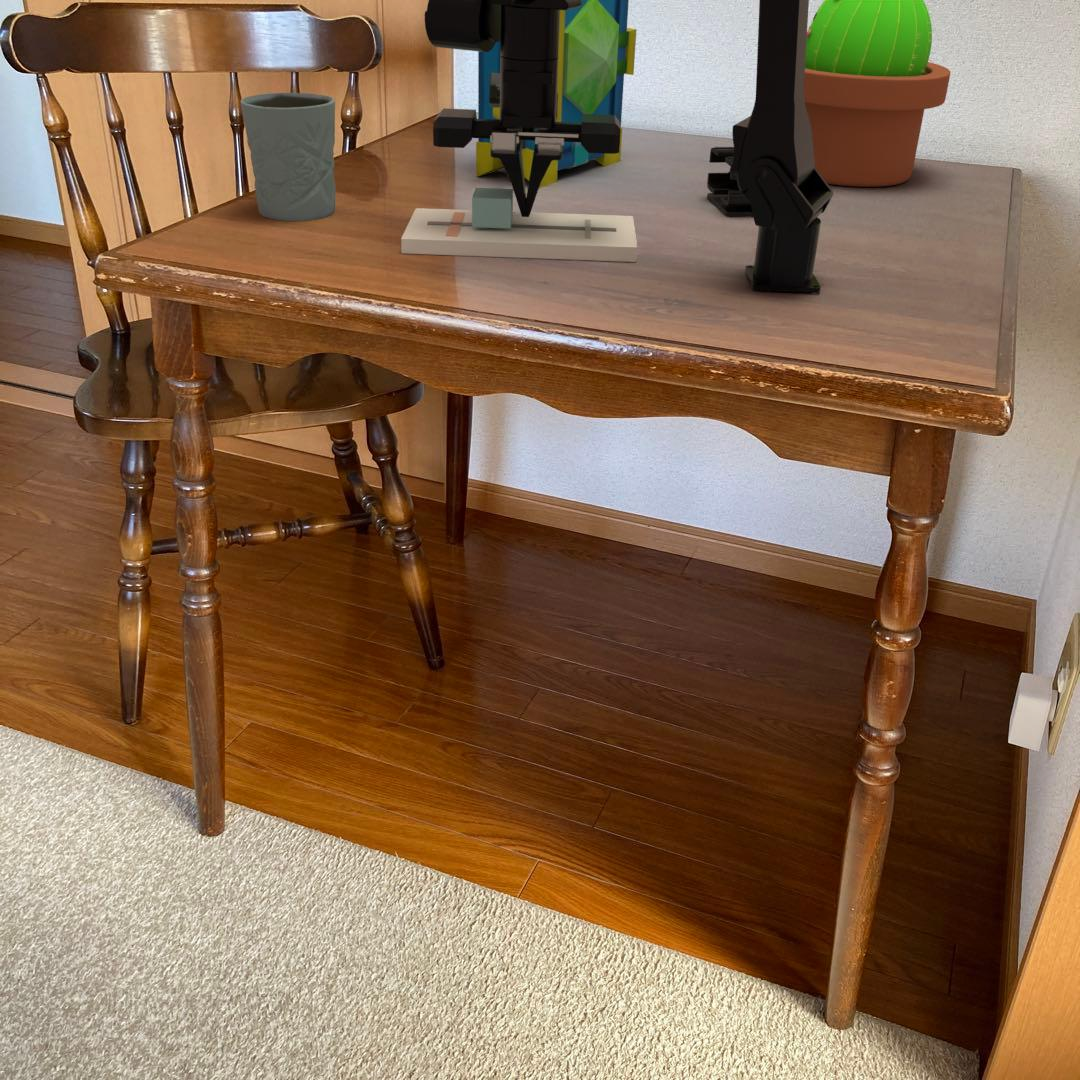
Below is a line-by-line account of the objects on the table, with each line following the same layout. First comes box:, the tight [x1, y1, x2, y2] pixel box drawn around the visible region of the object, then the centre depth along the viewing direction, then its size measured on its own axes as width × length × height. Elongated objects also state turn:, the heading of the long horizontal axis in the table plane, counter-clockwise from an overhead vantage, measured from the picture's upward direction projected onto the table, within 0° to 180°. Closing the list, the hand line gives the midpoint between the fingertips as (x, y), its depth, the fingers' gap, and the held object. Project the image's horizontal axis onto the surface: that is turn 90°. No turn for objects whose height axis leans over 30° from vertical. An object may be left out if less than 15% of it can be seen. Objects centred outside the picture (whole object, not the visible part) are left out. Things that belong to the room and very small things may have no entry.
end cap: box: [706, 146, 754, 218], centre depth 134 cm, size 10×7×7 cm
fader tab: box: [471, 187, 514, 228], centre depth 119 cm, size 4×4×3 cm
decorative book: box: [475, 0, 637, 189], centre depth 142 cm, size 14×23×30 cm, turn 146°
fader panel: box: [400, 207, 639, 263], centre depth 120 cm, size 12×24×2 cm, turn 88°
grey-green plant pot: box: [240, 92, 336, 222], centre depth 125 cm, size 10×10×12 cm
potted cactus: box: [803, 0, 951, 188], centre depth 146 cm, size 22×22×25 cm
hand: (525, 216), depth 119 cm, fingers closed
